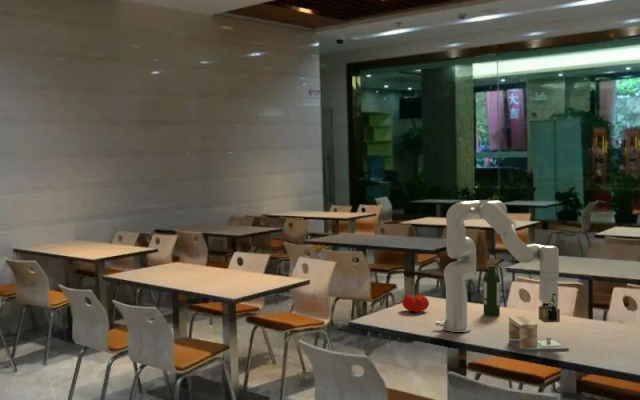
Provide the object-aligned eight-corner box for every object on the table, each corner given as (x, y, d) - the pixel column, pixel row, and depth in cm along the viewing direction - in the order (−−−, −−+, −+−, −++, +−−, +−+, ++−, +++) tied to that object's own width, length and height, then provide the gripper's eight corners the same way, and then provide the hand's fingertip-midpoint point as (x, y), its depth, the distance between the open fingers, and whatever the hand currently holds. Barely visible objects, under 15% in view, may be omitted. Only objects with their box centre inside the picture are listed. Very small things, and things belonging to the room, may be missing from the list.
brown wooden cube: (544, 322, 275) (544, 309, 275) (538, 319, 281) (538, 306, 281) (559, 322, 275) (559, 309, 275) (553, 318, 281) (553, 305, 281)
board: (520, 351, 271) (520, 342, 271) (508, 342, 286) (508, 333, 285) (568, 350, 272) (568, 341, 272) (554, 341, 286) (554, 332, 286)
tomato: (401, 314, 341) (401, 297, 341) (402, 309, 354) (402, 292, 353) (428, 315, 339) (428, 297, 339) (429, 309, 351) (428, 293, 351)
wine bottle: (482, 312, 342) (482, 254, 340) (498, 313, 341) (498, 254, 339) (484, 316, 334) (484, 256, 333) (500, 316, 333) (500, 257, 331)
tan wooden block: (520, 348, 271) (520, 324, 271) (508, 339, 285) (508, 316, 285) (537, 348, 271) (537, 324, 271) (525, 339, 286) (525, 316, 285)
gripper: (532, 272, 286) (532, 314, 287) (548, 279, 269) (548, 323, 269) (550, 272, 286) (550, 313, 287) (566, 278, 269) (566, 322, 270)
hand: (549, 317), depth 278 cm, fingers closed on brown wooden cube, 6 cm apart
